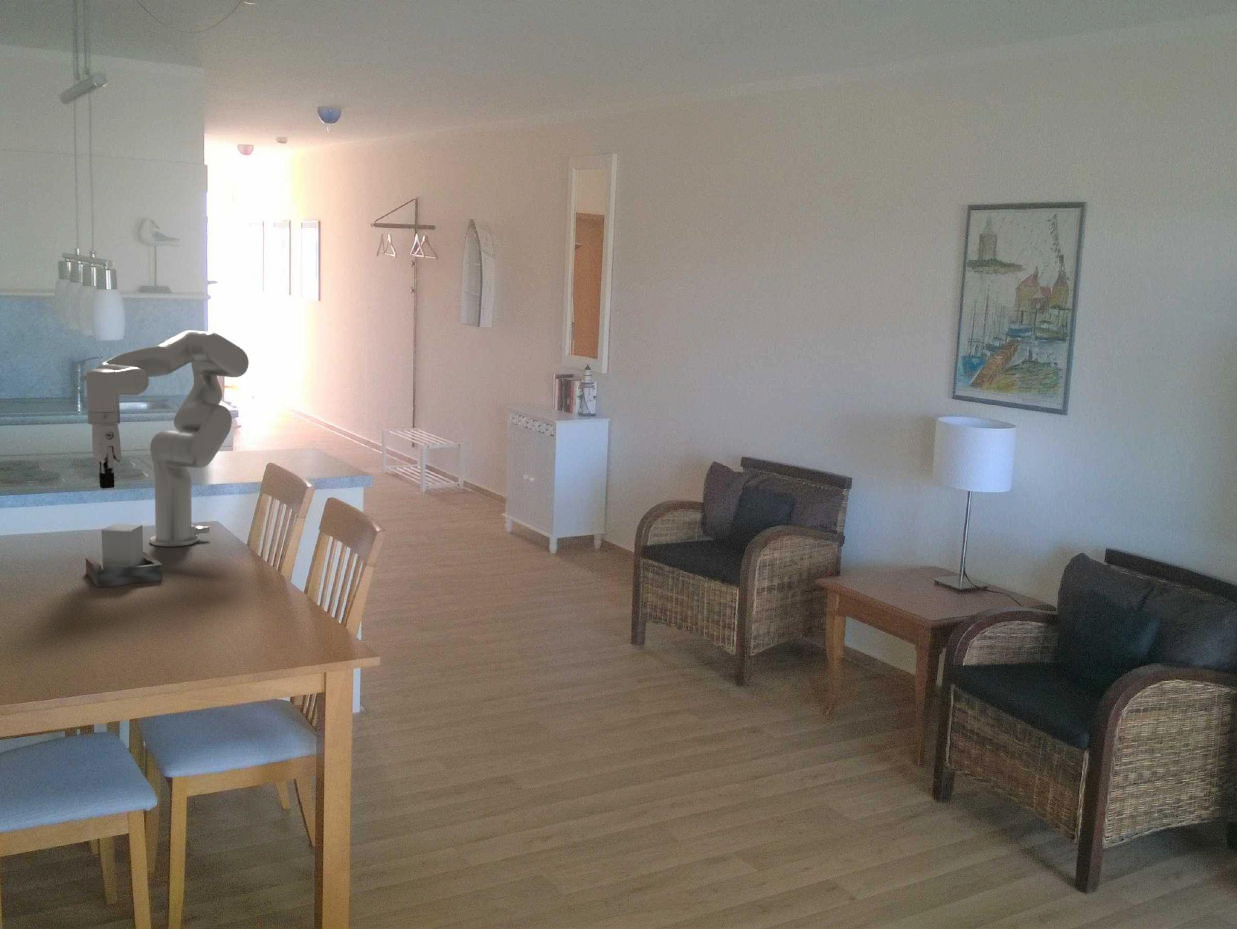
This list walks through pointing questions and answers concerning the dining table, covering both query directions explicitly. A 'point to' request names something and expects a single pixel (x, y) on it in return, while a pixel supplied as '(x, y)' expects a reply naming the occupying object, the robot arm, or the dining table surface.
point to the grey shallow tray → (124, 573)
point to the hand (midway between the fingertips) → (107, 487)
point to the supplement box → (122, 546)
